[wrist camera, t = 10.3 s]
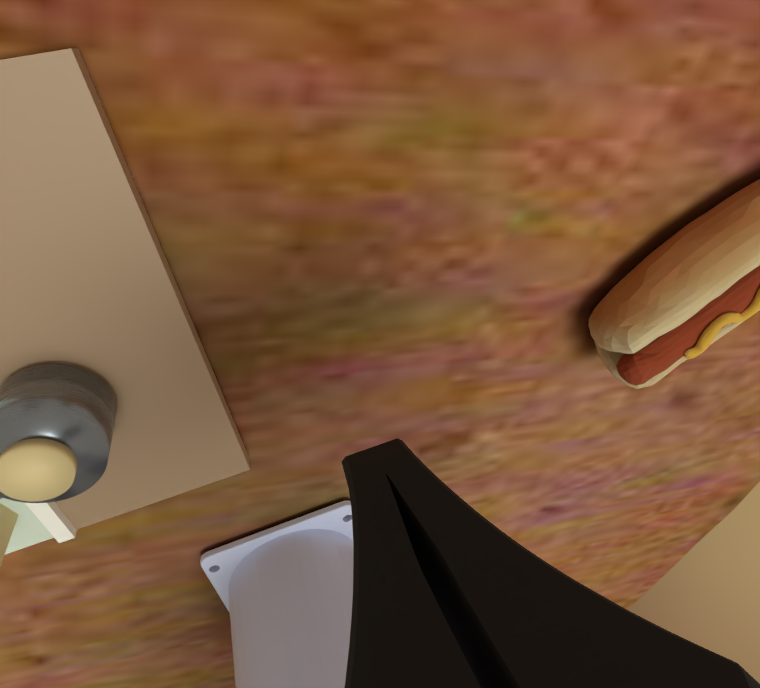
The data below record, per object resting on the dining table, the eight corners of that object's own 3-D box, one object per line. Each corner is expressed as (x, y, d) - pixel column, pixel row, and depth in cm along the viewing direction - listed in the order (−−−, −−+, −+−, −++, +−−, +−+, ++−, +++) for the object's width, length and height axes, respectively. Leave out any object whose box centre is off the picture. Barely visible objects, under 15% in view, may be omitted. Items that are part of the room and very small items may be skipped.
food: (793, 123, 23) (921, 140, 19) (794, 214, 27) (904, 245, 22) (555, 300, 24) (629, 353, 20) (584, 368, 27) (654, 424, 23)
